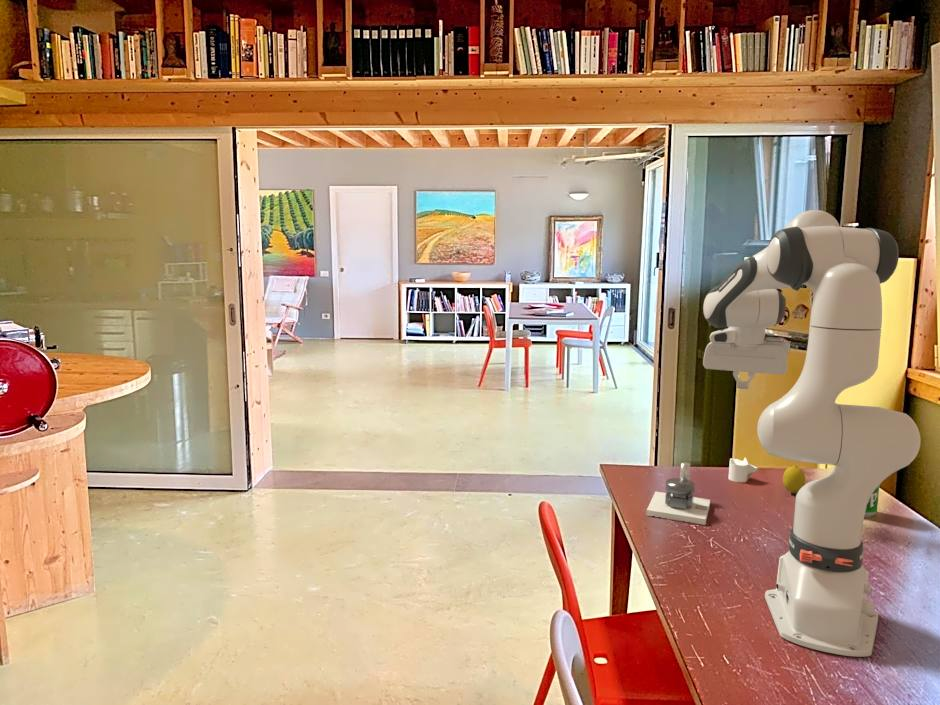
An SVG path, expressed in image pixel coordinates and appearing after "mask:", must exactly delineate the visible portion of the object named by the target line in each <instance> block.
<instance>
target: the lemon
mask: <svg viewBox="0 0 940 705" xmlns="http://www.w3.org/2000/svg"><path fill="white" fill-rule="evenodd" d="M782 483H783V486H784V488H785V489H786V490H787V491H788V492H790V493H791V494H792V495H794V494H797V493H798V491H799V490H800V489H801V488H802V487H803V486H804V485H805V484H806V475H805V472H804V471H803V469H802V468H800V467H799V466H798V465H796V464H795V465H793V466H792V465H791V466H789V467H787V468H786V469H785V470H784V473H783V474H782Z"/></svg>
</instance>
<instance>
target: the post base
mask: <svg viewBox="0 0 940 705" xmlns="http://www.w3.org/2000/svg"><path fill="white" fill-rule="evenodd" d="M666 493H667V492H663V491H662V492H660V491H654V493H653V496H652V498H651V500H650V502H649V505H648V506H647V508H646V512H645V513H646V514H645V515H647V516H648V517H652V516H655V517H654V518H658V517H661V518H660V519H665V518H666V520H672V521H679V522H683V521H684V522H685V523H689V522H690V524H697V525H701V526H705V525H706V523H707V519H708V514H709V511H710V507H711V499H710V498H704V497H696V496H694V498H693V505H692V508H689V507H688V501H687V503H686V509H684V508H678V507H671V506H669V504H670V502H669V504H665V498H666ZM671 496H673V494H672V493H671ZM673 497H680V498H686V495H676V494H674V496H673ZM647 516H646V517H647Z"/></svg>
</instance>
